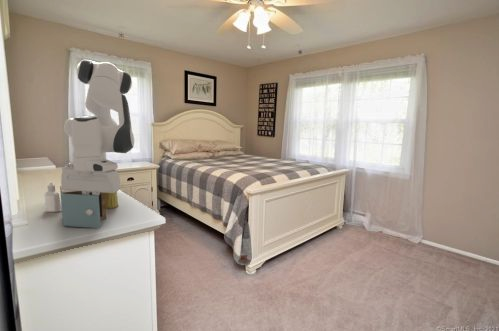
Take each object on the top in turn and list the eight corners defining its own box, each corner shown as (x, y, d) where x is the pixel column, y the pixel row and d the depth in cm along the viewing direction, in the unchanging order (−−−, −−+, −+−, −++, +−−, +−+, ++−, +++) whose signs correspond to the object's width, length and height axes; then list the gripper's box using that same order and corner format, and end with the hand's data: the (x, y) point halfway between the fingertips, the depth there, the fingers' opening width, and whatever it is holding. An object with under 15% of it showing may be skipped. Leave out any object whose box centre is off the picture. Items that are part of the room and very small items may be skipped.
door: (65, 224, 92) (62, 193, 90) (100, 226, 91) (98, 195, 89) (60, 226, 90) (57, 195, 88) (96, 229, 89) (94, 196, 87)
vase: (111, 209, 112) (109, 176, 110) (99, 208, 113) (97, 175, 111) (121, 205, 118) (119, 173, 116) (109, 204, 119) (107, 173, 117)
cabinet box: (62, 216, 102) (60, 186, 100) (100, 210, 110) (98, 182, 108) (64, 225, 93) (62, 192, 91) (106, 218, 101) (104, 188, 99)
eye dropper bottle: (47, 213, 104) (45, 184, 103) (45, 210, 108) (43, 181, 107) (61, 211, 108) (58, 182, 106) (58, 208, 111) (56, 180, 110)
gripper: (54, 164, 88) (57, 204, 90) (109, 167, 85) (112, 208, 87) (69, 161, 94) (72, 199, 96) (121, 164, 91) (123, 202, 93)
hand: (91, 203), depth 91 cm, fingers closed
